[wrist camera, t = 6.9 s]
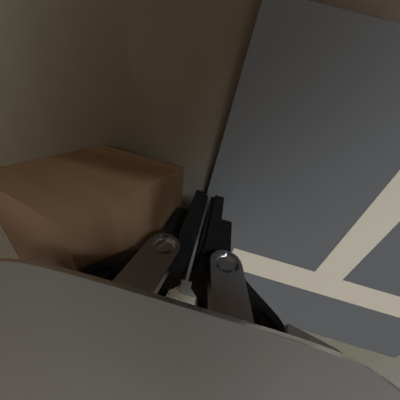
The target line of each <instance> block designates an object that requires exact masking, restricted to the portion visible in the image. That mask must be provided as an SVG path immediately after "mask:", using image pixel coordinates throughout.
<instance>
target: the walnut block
mask: <svg viewBox="0 0 400 400" xmlns="http://www.w3.org/2000/svg"><path fill="white" fill-rule="evenodd" d="M182 179H183V167H181V166H177V165H174V164H170V163H166V162H163V161H159V160H156V159H152V158H149V157H145V156H141V155H138V154H134V153H131V152H127V151H123V150H120V149H116V148H113V147H109V146H106V145H102V146H98V147H93V148H88V149H84V150H79V151H74V152H70V153H65V154H60V155H56V156H51V157H46V158H41V159H37V160H32V161H27V162H23V163H18V164H13V165H9V166H4V167H0V224H1V226H2V228H3V230H4V232H5V233H6V235H7V237H8V239H9V240H10V242H11V244H12V246H13V248H14V249H15V251H16V253H17V255H18V257H19V258H20V259H23V260H29V259H43V260H56V261H64V262H65V263H67V264H68V265H69V266H70V267H71V268H73V269H74V270H75V271H78V272H83V271H84V270H85V268H87V267H88V266H89V265H91V264H93V263H96V262H98V261H101V260H105V259H108V258H111V257H115V256H118V255H121V254H124V253H128V252H131V251H134V250H137V249H141V247H142V246H143V245H144V244H145V243H146V242H147V241H148V239H149V238H150V237H152V236H153V235H155V234H158V233H165V231H166V229H167V228H168V226H169V224H170V222H171V220H172V218H173V216H174V214H175V212H176V210H177V208H178V207H181V208H182Z"/></svg>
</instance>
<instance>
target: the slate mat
mask: <svg viewBox="0 0 400 400" xmlns="http://www.w3.org/2000/svg"><path fill="white" fill-rule="evenodd" d="M206 195H208V199H207V203H206V206H205V210H204V214H203V217H202V221H201V225H200V228H199V232H198V236H197V239H196V243H195V246H194V250H193V254H192V257H191V261H190V264H189V268H188V271H187V275H186V278H185V280H182V282H181V285H180V289H179V293H183V294H186V295H189V296H193V297H196V296H195V294H194V292H193V291H192V289H191V285H192V282H189V281H188V280H189V276H190V272H191V268H192V264H193V260H194V257H195V253H196V249H197V245H198V241H199V237H200V233H201V230H202V226H203V223H204V219H205V216H206V213H207V209H208V206H209V202H210V199H211V196H212V197H215V195H217V196H221V197H224V204H223V212H222V219H223V220H227V221H230V222H232V232H231V252H232V253H234V254H235V255H236V256H237V257H238V258H239V259H240V261H241V263H242V266H243V271H244V276H245V280H246V281H247V282H248V283H249V284H250V285H251V287H252V288H253V289H254V290H255V291H256V292H257V293H258V294H259V295H260V297H261V298H262V299H263V300H264V301H265V302H266V303H267V304H268V305H269V307H270V308H271V309H272V310H273V311H274V312H275V313H276V314H277V316H278V317H279V318H280V320H281V321H282V323H283V324H285V325H287V324H288V323H289V324H291V325H292V326H294V327H296V328H298V329H301V330H305V331H308V332H311V333H315V334H318V335H321V336H324V337H328V338H331V339H334V340H338V341H341V342H344V343H348V344H351V345H354V346H357V347H361V348H364V349H367V350H371V351H374V352H377V353H380V354H384V355H387V356H390V357H396V356H398V355H400V23H398V22H394V21H390V20H386V19H382V18H378V17H374V16H370V15H366V14H362V13H358V12H354V11H350V10H346V9H342V8H338V7H334V6H330V5H326V4H323V3H319V2H315V1H311V0H262V2H261V5H260V9H259V12H258V16H257V19H256V23H255V26H254V30H253V33H252V37H251V40H250V44H249V47H248V51H247V54H246V58H245V61H244V65H243V68H242V72H241V75H240V79H239V82H238V86H237V89H236V93H235V96H234V100H233V103H232V107H231V110H230V114H229V117H228V121H227V124H226V128H225V131H224V135H223V138H222V142H221V145H220V149H219V152H218V156H217V159H216V163H215V166H214V170H213V173H212V177H211V180H210V184H209V187H208V191H207V194H206Z"/></svg>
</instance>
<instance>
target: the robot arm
mask: <svg viewBox="0 0 400 400" xmlns="http://www.w3.org/2000/svg"><path fill="white" fill-rule="evenodd" d="M205 193H206V192H203V191H199V190H197V191H196V193H195V196H194V198H193V201H192V203H191V206H190V208H189V210H188V209H184V208H181V207H178V208H177V210H176V212H175V214H174V216H173V218H172V220H171V222H170V224H169V226H168V228H167V229H166V231H165V233H158V234H155V235H153V236H152V237H150V238H149V239H148V241H147V242H146V243H145V244H144V245H143V246H142V247H141V249H137V250H134V251H131V252H128V253H124V254H121V255H118V256H115V257H111V258H108V259H105V260H101V261H98V262H96V263H93V264H91V265H89V266H88V267H87V268H85V270H84V271H83V272H78V271H75V270H74V269H73V268H71V267H70V266H69V265H68V264H67V263H65V262H64V261H56V260H43V259H29V260H23V259H7V258H4V259H0V400H400V389H399V388H398V387H396V386H395V385H394V384H392V383H391V382H390V381H388V380H387V379H385V378H384V377H382V376H381V375H379V374H378V373H377V372H375V371H374V370H372V369H371V368H369V367H367V366H365V365H364V364H362V363H360V362H358V361H356V360H355V359H353V358H351V357H349V356H346V355H344V354H342V353H341V352H340V351H339V350H337V349H336V348H334V347H332V346H330V345H328V344H326V343H325V342H323V341H321V340H319V339H317V338H315V337H313V336H311V335H309V334H308V333H306V332H304V331H302V330H300V329H298V328H296V327H294V326H292V325H291V324H289V323H288V324H287V325H285V324H283V323H282V321H281V320H280V318H279V317H278V316H277V314H276V313H275V312H274V311H273V310H272V309H271V308H270V307H269V305H268V304H267V303H266V302H265V301H264V300H263V299H262V298H261V297H260V295H259V294H258V293H257V292H256V291H255V290H254V289H253V288H252V287H251V285H250V284H249V283H248V282H247V281H246V280H245V276H244V271H243V266H242V263H241V261H240V259H239V258H238V257H237V256H236V255H235V254H234V253H232V252H231V232H232V222H230V221H227V220H223V219H222V212H223V204H224V197H221V196H217V195H215V197H212V196H211V199H210V202H209V206H208V209H207V213H206V216H205V219H204V223H203V226H202V230H201V233H200V237H199V241H198V245H197V249H196V253H195V257H194V260H193V264H192V268H191V272H190V276H189V280H188V281H189V282H192V285H191V289H192V291H193V292H194V294H195V296H196V300H195V305H191V304H188V303H185V302H181V301H178V300H175V299H171V298H168V295H169V292H170V289H172V288H174V287H177V286H179V284H180V281H181V279H182V280H185V278H186V275H187V271H188V268H189V264H190V261H191V257H192V254H193V250H194V246H195V243H196V239H197V236H198V232H199V228H200V225H201V221H202V217H203V214H204V210H205V206H206V203H207V199H208V195H205Z"/></svg>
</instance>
